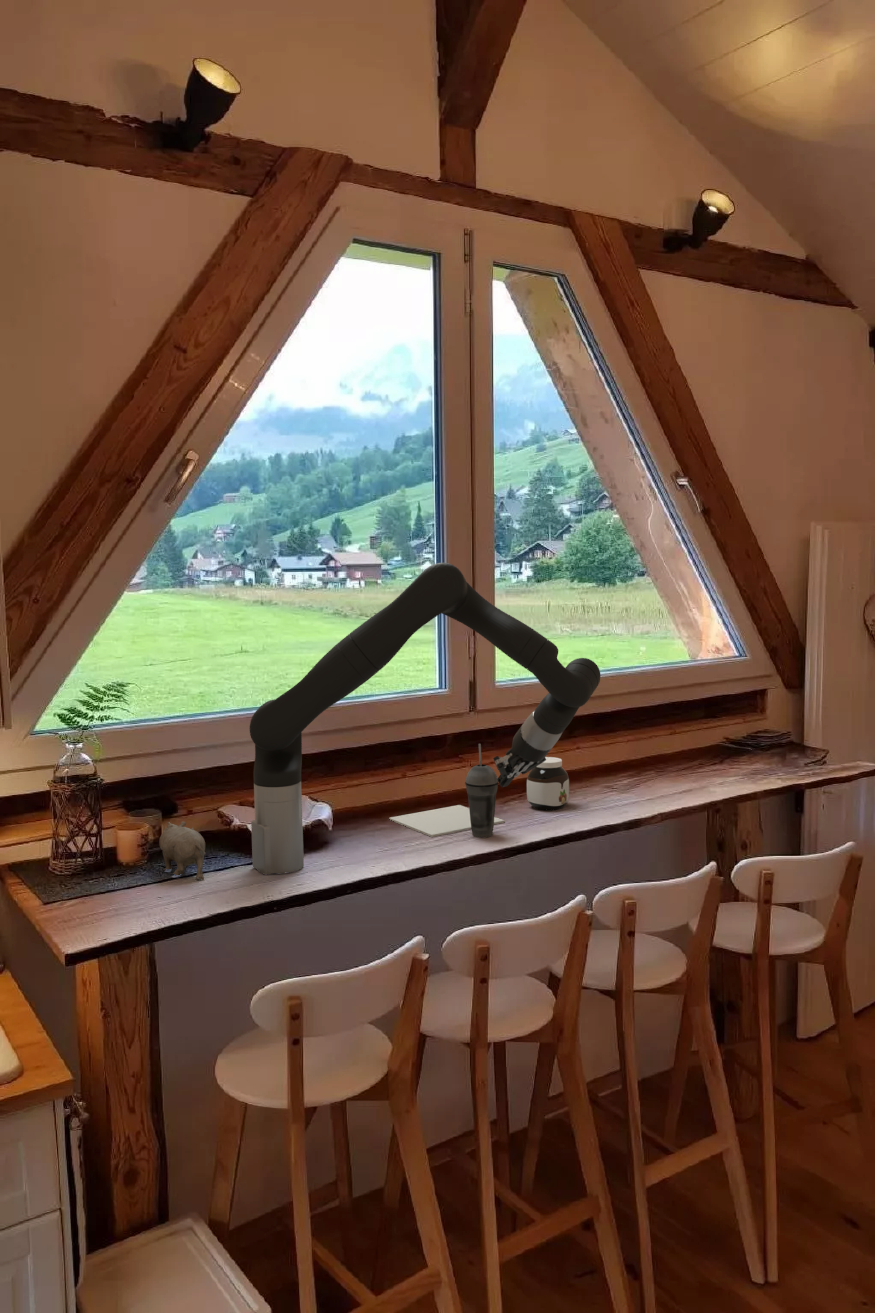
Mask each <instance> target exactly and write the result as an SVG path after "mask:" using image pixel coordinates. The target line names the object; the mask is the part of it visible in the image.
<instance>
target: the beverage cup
mask: <svg viewBox="0 0 875 1313" xmlns="http://www.w3.org/2000/svg"><path fill="white" fill-rule="evenodd" d="M478 761H479V762H478V764H476V765H474V766H472V767H471V768H470V769H469V771H468V772H467V775H466V777H465V782H464V784H465V788H466V793H467V798H468V799H467V800H468V808H469V811H470V821H471V829H470V830H471V835H472V836H473V837H475V838H482V837H483V838H489V837H492V836H493V834H494V833H493V832H494V826H495V825H494V817H495V812H496V800H497V799H496V798H497V792H498V787H499V782H498V780H497V778H498V776H497V773H496V772H495V770H494V769H493V768H492V767H491V766H489V765H487V764H485V763H484V764H482V763H483V759H482V745H481V743H478Z"/></svg>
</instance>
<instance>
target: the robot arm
mask: <svg viewBox="0 0 875 1313" xmlns="http://www.w3.org/2000/svg"><path fill="white" fill-rule="evenodd" d="M441 614H442V615H444V616H447V617H448V618H450V619H452V620H455V621H457V622H459V623H461V624H462V625H465V626H466V627H468V628H469V629H471V630H473V631H475V633H478V634H479V635H480V636H481V637H483V638H484V639H486V640H487V641H488V642H489V643H491V644H492V645H493V646H494V647H495V648H497V649H498V650H500V651H501V652H502V653H503V654H505V655H506V656H507V657H509V658H510V659H511V660H513V661H514V662H516V664H518V665H520V666H521V667H523V668H524V669H525V670H527V671H528V672H530V674H533V675H534V678H536V680H538V681H539V683H540V684H541V685H542V686H543V687H544V688H545V689H546V691H547V692H548V693H547V694H546V695H545V696H544V697H543V698H542V699H541V700H540V702H539V703H538V705H537V706H536V708H535V709H534V710H533V711H532V712H531V713H530V714H529V715H528V716H527V718H526V719H525V720H524V721H523V723H522V725H521V726H520V728H519V729H518V730H517V731H516V733H515V734H514V736H513V738H512V744H511V748H509V750H507V751H506V752H505V755H504V756H503V757H502V756H499V755H497V756H496V755H495V756H494V757H493V762H494V764H495V766H496V769H497V770H498V772H499V774H500V775H499V776H497V780H498V785H499V786H500V787H501V788H505V787H509V785H510V784H511V782H513V780H514V779H515V778H517V777H519V776H520V775H521V774H522V775H526V774H528V773H529V772H530V771H531V770H532V769H533V768H535V767H536V766H538V765H540V764H541V763H543V762H544V761H546V758H545V757H547V755H548V754H549V752H550V751H551V750H552V749H553V747H554V746H555V745H556V743H558V741H559V739H560V738H561V736H562V734H563V733H564V731H565V730H566V728H568V726H569V725H570V723H571V722H572V720H573V719H574V717H575V715H576V714H577V711H578V710H579V709H580V707H583V706H584V705H585V704H587V703H588V701H589V700H590V699H591V697H592V695H593V694H594V692H595V691H596V689H597V688H598V686H599V685H600V681H601V670H600V668H599V667H598V665H597V663H595V662H594V660H591V659H590V658H586V657H580V658H579V657H578V658H575V659H573V660H572V661H570V662H569V663H568V664H567V665H566V666H564V665H563V663H561V662H560V660H559V659H558V655H559V648H558V646H557V645H556V644H555V643H554V642H552V641H551V640H549V639H548V638H546V637H545V636H544V635H542V634H541V633H540V632H538V631H536V630H535V629H533V628H532V627H530V626H529V625H527V624H526V623H525V622H524V623H523V622H522V621H521V620H519V619H517V618H516V617H514V616H512V615H510V614H508V613H506V612H505V611H503V610H501V609H500V608H498V607H497V606H495V605H494V604H492V603H491V602H489V601H488V600H487V599H485V598H484V597H483V596H482V595H481V594H480V593H479V592H478V591H477V590H476V589H474V588H473V586H471V584H469V583H468V581H467V580H466V578H465V576H464V574H463V573H462V571H461V570H460V569H459V568H458V567H457V566H455V565H454V564H451V563H448V562H437V563H434V564H431V565H429V566H427V567H426V568H425V569H424V570H422V572H421V573H420V574H419V575H418V576H417V577H416V578H415V579H414V580H413V581H412V582H411V583H410V584H409V586H407V587H406V588H405V589H404V590H403V591H402V592H401V593H400V594H399V595H398V596H397V597H396V598H395V599H394V600H393V601H392V602H391V603H389V604H388V605H387V606H385V607H384V608H382V609H381V610H379V611H378V612H376V613H375V614H374V615H372V616H371V617H369V619H367V620H365V621H364V622H363V623H361V624H360V625H359V626H357V627H356V628H355V629H353V630H352V631H351V632H350V633H348V634H347V635H346V636H344V638H342V639H341V640H340V641H339V642H337V643H336V644H335V645H334V646H333V647H332V648H331V649H330V650H328V651H327V652H326V653H325V654H324V655H323V656H322V657H321V658H320V659H319V660H318V662H316V663H315V665H313V667H312V668H311V669H310V670H309V671H308V673H307V674H305V676H304V677H302V679H301V680H300V681H299V682H297V683H296V684H295V685H294V686H292V687H291V688H290V689H288V690H287V691H285V692H283V694H281V695H280V696H278V697H277V698H275V699H269V700H267V701H265V702H264V703H262V704H261V705H260V706H259V707H258V708H257V709H256V710H255V711H254V713H253V715H252V716H251V719H250V722H249V736H250V738H251V740H252V743H253V744H254V752H255V753H254V764H253V794H254V798H253V800H254V819H252V820H251V823H250V825H251V826H250V827H251V849H252V850H251V853H252V859H251V860H252V868H253V867H254V868H253V869H255V868H256V869H257V871H258V872H260V873H261V872H262V873H261V874H263V873H264V874H268V875H272V874H271V873H284V874H286V873H285V872H290V873H294V872H298V871H300V870H302V869H303V868H304V866H305V864H304V861H305V860H304V858H305V857H304V834H303V833H304V832H303V801H302V800H303V798H302V797H303V795H302V791H303V790H302V766H303V762H302V761H303V746H302V745H303V744H302V742H303V741H302V740H303V739H302V732H303V731H304V730H305V729H306V728H307V727H308V726H309V725H310V724H311V723H312V722H313V721H314V720H315V719H316V718H318V717H319V716H320V715H321V714H322V713H323V712H324V711H326V710H327V709H328V708H330V707H332V706H334V705H335V704H336V703H338V702H339V701H342V699H345V697H347V696H348V695H349V694H352V693H353V692H354V691H355V690H357V689H358V688H359V687H361V686H363V685H364V684H365V683H366V682H367V681H369V680H370V679H371V678H372V677H374V676H375V675H376V674H377V673H379V671H381V670H382V669H383V668H384V667H385V666H386V665H387V664H388V663H389V662H391V660H392V659H393V658H395V657H396V655H397V654H398V653H399V651H400V650H401V649H402V648H403V647H404V645H405V644H406V643H407V642H408V641H409V640H410V638H412V636H413V635H414V634H416V632H417V631H419V630H420V629H421V628H422V627H423V626H425V625H427V624H428V623H429V622H431V621H432V620H433V619H435V618H436V617H438V616H440V615H441ZM302 867H303V868H302ZM256 869H255V870H256ZM299 869H300V870H299ZM264 874H263V875H264Z"/></svg>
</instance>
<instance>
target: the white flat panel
mask: <svg viewBox="0 0 875 1313" xmlns="http://www.w3.org/2000/svg"><path fill="white" fill-rule="evenodd" d="M389 819H390V820H389ZM388 820H389V821H391V820H392V821H391V822H393V821H394V822H393V823H396V824H397V825H398V824H399V825H401V826H403V825H404V826H403V827H405V826H406V827H405V828H407V829H410V830H413V831H416V832H419V833H420V834H423V835H425V836H427V837H428V836H429V837H430V838H434V837H439V836H444V835H449V834H453V833H454V834H455V833H459V832H465V831H468V830H472V829H471V821H470V811H469V807H467V806H464V805H461V804H457V805H451V806H446V807H441V808H436V809H430V810H424V811H419V812H413V813H408V814H402V815H398V816H397V815H396V816H391V817H389V818H388ZM505 821H506V820H504V819H501V818H498V817H495V816H494V826H495V825H498V824H499V825H500V824H504V823H505Z"/></svg>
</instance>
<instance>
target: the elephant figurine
mask: <svg viewBox="0 0 875 1313" xmlns="http://www.w3.org/2000/svg"><path fill="white" fill-rule="evenodd" d="M167 824H168V825H167V826H166V828H164V829H163V832H162V834H161V835H160V837H159V848H160V850H161V851H162V856H163V861H164V865H165V869H171V868H172V869H173V866H172V861H174V862H176V866H177V868H176V869H175V871H173V873H172V874H175V875H180V874H182V875H183V874H185V871H186V867H188V866H189V865H190V866H192V865H195V866H196V875H195V880H199V879H204V878H205V876H204V873H203V867H204V866H203V865H204V859H205V855H206V854H207V853H206V852H205V851H206V842H205V838H204V836H202V835H201V833H200V832H198V831H197V830H195V829H194V827H192V828H189V827H186V824H187V822H186V821H180V824H178V825H177V824H174V823H171V822H170V821H169V822H167Z"/></svg>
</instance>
